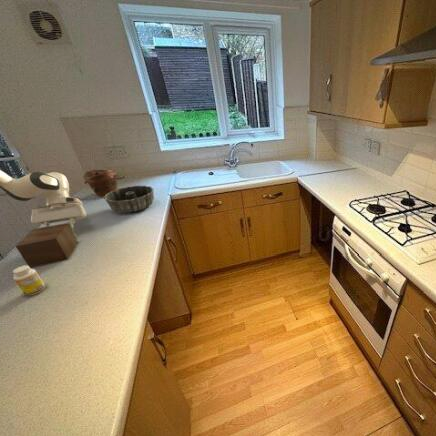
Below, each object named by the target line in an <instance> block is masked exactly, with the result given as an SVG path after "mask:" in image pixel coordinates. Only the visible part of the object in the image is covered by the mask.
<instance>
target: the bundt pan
mask: <svg viewBox="0 0 436 436" xmlns="http://www.w3.org/2000/svg"><path fill="white" fill-rule="evenodd" d="M103 199H104V201H105V202H106V203H107V205H108V206H109V208H110V209H112V210H113V211H114V212H118V213H120V214H124V213H126V214H127V213H132V212H134V213H136V212H137V211H142V210H144V209H148V208H149V207H150V206H151V205H152V204H153V203H154V200H155V196H154V188H153V187H152V186H150V185H149V186H148V185H132V186H130V185H129V186H126V187H119V188H117V190H115V191H111V192H110V193H108V194H106V195H105V196H104V197H103Z"/></svg>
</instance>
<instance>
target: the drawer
mask: <svg viewBox="0 0 436 436" xmlns="http://www.w3.org/2000/svg"><path fill="white" fill-rule="evenodd" d="M67 223H68V224H69V226H70V228H71V230H72V232H73V234H74V236H75V238H76V240H77V241H78V237H77V234H76V233H75V231H74V228H72V227H71V225H70V222H66V223H63V224H67ZM61 224H62V223H59V224H57V225H61ZM55 225H56V224H54V225H51V226H55ZM49 226H50V225H48V226H47V227H49ZM43 227H44V226H41V227H40V228H43Z"/></svg>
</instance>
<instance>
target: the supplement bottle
mask: <svg viewBox="0 0 436 436" xmlns="http://www.w3.org/2000/svg"><path fill="white" fill-rule="evenodd" d="M12 273H13V280H14V281H15V283H16V284H17V286H18V287H19V289H20V290H21V292H23V294H24V295H25V296H34V295H36V294H39V293H41V292H42V291H43V290H45V288H46V284H45V283H44V281H43V280H42V279H41V278H42V277H40V275H39V274H38V272H37V271H36V269H34V268H31V267H29V266H28V264H27V265H22V266H21V265H20V266H19V267H16V268H14V269H13V270H12Z"/></svg>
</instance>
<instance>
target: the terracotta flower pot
mask: <svg viewBox="0 0 436 436" xmlns="http://www.w3.org/2000/svg"><path fill="white" fill-rule="evenodd" d="M117 176H118V173H117V172H116V170H114V169H107V170H106V169H105V170H104V169H91V170H87V171H86V172H85V173H84V174H83V181H84V185H88V186H89V187H90V188H91V189H92V191H93V193H94V194H95V196H97V197H103V198H104V197H105V195H106V194H108V193H110V192H111V191H115V190H117V189H118V185H117V184H118V181H117Z"/></svg>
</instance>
